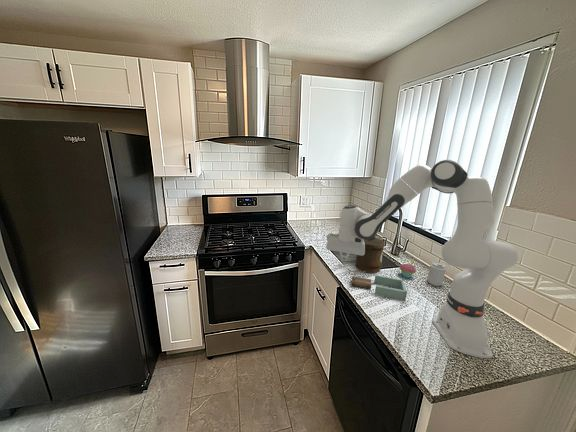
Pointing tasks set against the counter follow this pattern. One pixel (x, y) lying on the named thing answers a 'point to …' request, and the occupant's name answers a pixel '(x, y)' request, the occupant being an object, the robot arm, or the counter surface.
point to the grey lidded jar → (436, 273)
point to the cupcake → (407, 269)
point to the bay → (390, 291)
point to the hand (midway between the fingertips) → (343, 259)
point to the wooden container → (371, 256)
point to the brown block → (361, 282)
